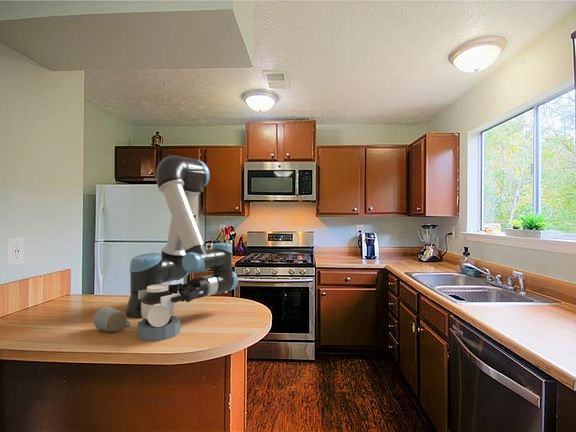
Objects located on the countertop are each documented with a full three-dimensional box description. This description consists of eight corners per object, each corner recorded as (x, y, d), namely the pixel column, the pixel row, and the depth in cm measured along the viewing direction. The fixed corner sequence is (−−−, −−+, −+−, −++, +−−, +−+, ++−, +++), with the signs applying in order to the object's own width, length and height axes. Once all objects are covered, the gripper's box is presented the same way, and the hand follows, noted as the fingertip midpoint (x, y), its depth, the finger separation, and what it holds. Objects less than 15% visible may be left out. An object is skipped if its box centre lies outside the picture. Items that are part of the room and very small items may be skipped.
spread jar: (163, 314, 118) (162, 282, 118) (185, 320, 113) (184, 285, 113) (132, 324, 108) (131, 288, 108) (154, 331, 102) (154, 293, 102)
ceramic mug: (107, 336, 109) (108, 312, 109) (92, 332, 113) (93, 309, 113) (136, 326, 118) (136, 305, 119) (121, 323, 122) (121, 302, 122)
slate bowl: (130, 334, 110) (130, 322, 110) (165, 324, 120) (165, 313, 120) (151, 344, 102) (151, 331, 102) (187, 332, 112) (187, 320, 112)
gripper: (225, 302, 118) (171, 316, 101) (183, 291, 133) (130, 303, 116) (224, 280, 118) (171, 292, 101) (183, 273, 133) (130, 282, 116)
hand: (149, 298), depth 109 cm, fingers open, 13 cm apart
